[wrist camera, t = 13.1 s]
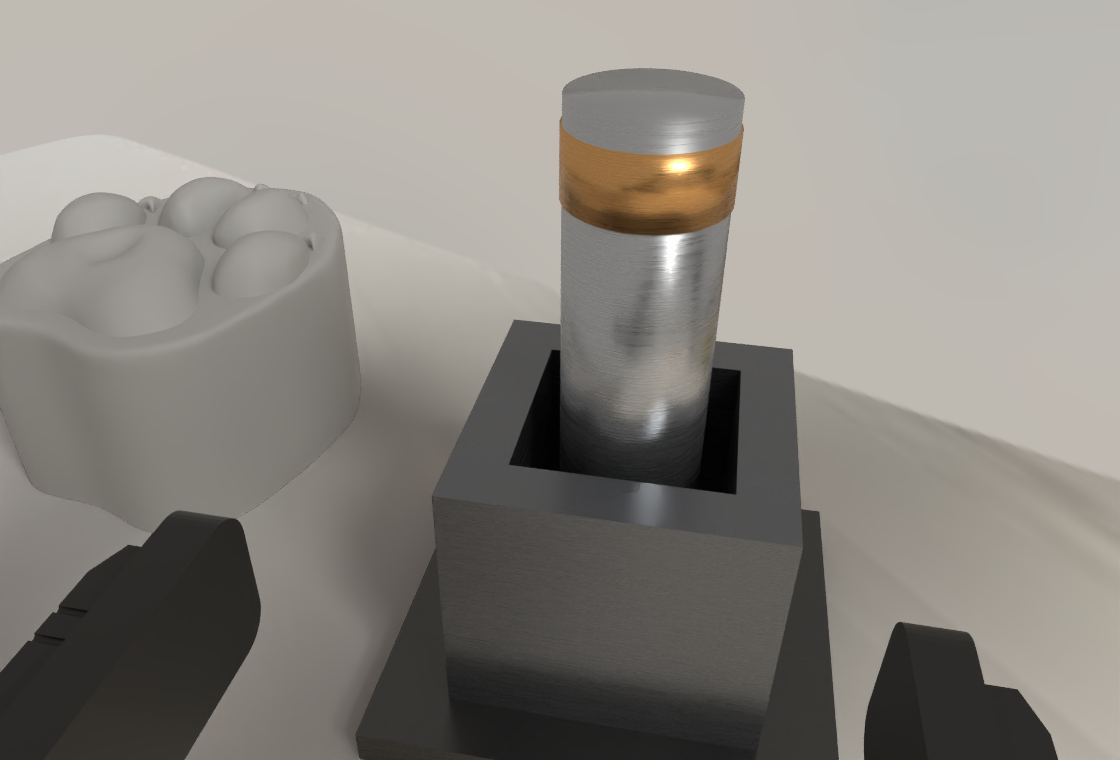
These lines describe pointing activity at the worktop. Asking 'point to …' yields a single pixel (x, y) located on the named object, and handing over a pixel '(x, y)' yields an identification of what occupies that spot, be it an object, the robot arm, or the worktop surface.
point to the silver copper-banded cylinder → (642, 267)
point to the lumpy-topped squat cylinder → (179, 349)
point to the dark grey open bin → (615, 589)
